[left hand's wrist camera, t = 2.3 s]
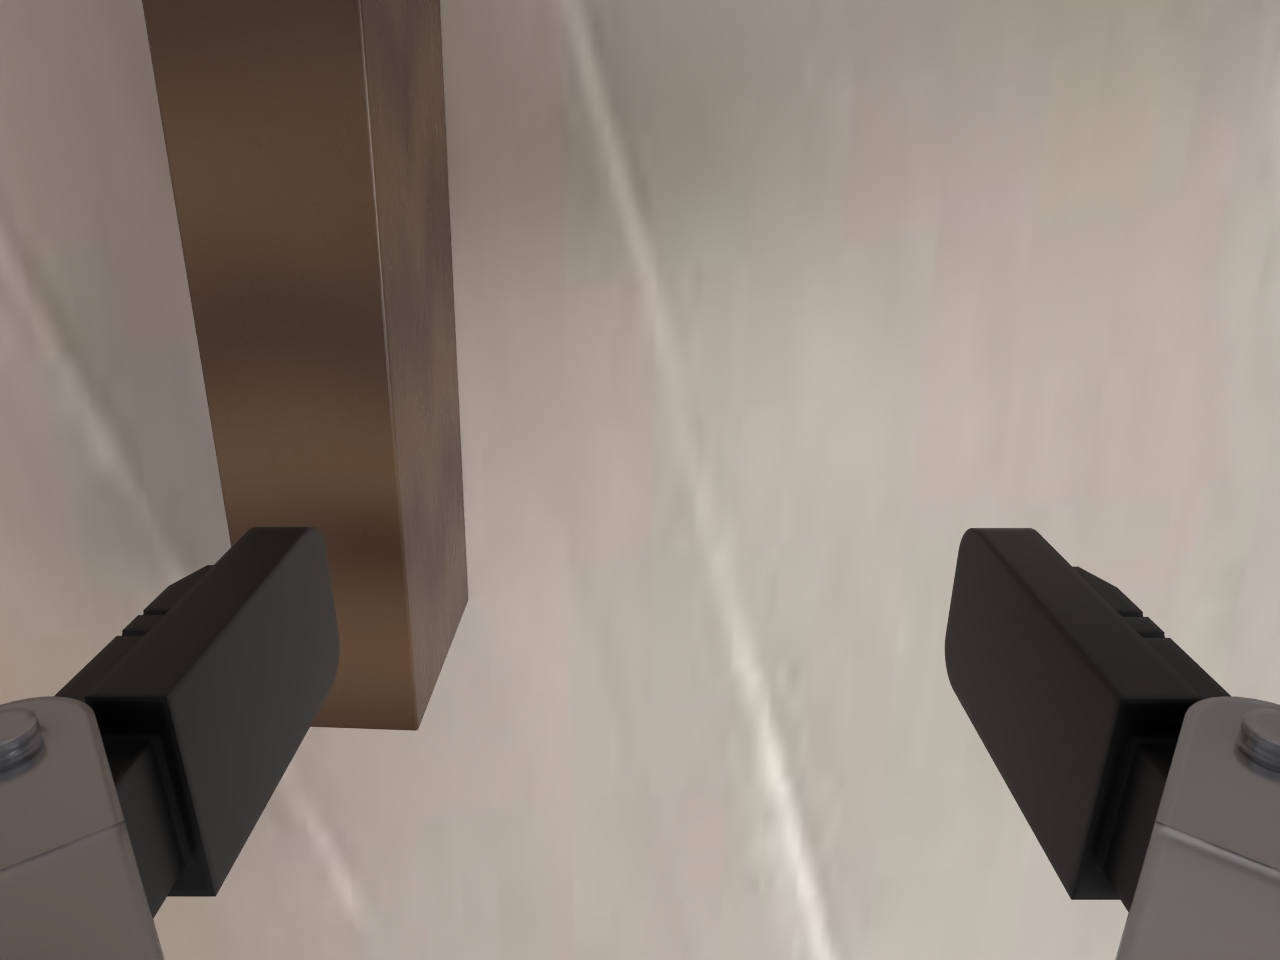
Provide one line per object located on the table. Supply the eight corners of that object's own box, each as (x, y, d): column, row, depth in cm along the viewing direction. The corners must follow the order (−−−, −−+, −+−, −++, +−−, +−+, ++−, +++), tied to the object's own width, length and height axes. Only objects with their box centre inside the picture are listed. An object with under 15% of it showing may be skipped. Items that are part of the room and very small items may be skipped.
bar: (258, -179, 25) (89, -308, 17) (431, -173, 25) (337, -299, 17) (343, 596, 34) (259, 725, 27) (468, 601, 34) (418, 731, 27)
